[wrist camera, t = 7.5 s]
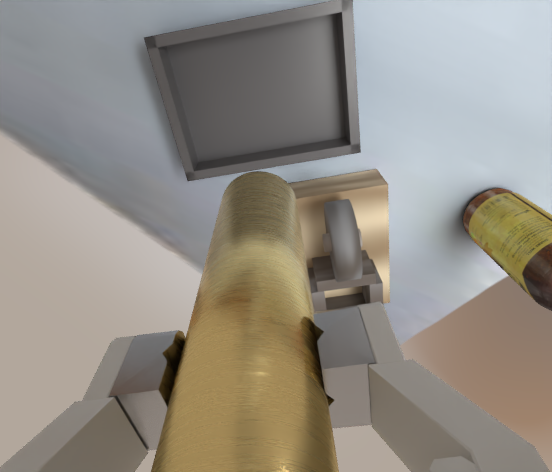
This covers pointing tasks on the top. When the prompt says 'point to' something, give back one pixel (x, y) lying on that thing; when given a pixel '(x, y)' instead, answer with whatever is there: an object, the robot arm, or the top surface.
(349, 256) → the block
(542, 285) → the sauce bottle
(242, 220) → the pin
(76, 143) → the top surface
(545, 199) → the top surface
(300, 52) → the tray
